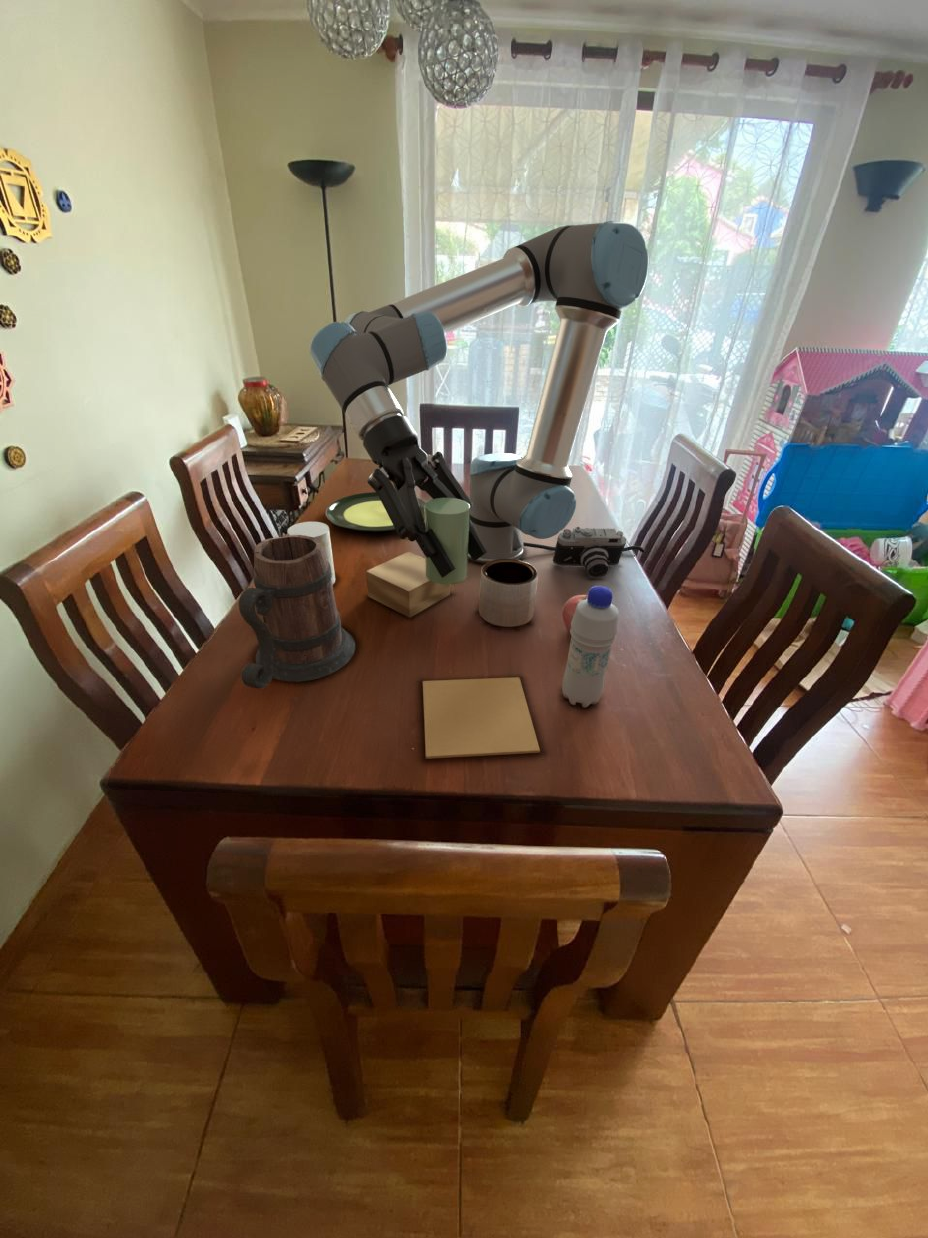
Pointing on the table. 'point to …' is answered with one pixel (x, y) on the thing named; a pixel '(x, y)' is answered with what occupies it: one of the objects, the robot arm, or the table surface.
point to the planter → (507, 592)
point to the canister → (449, 536)
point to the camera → (590, 549)
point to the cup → (319, 533)
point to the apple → (571, 609)
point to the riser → (404, 585)
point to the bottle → (590, 647)
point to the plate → (363, 513)
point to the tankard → (293, 613)
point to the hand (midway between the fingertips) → (464, 564)
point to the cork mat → (477, 718)
